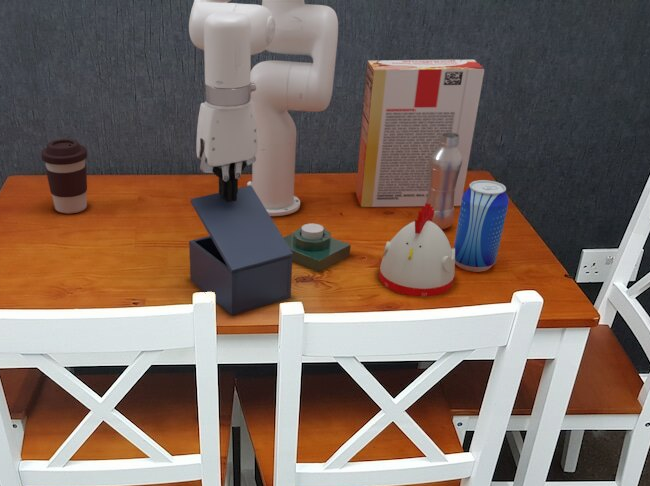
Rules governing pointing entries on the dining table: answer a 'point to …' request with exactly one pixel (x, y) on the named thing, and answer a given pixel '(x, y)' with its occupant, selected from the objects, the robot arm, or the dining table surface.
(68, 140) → the coffee cup
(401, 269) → the kitchen timer
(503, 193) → the beer can
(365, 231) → the dining table surface
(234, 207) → the lid
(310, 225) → the white button
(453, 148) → the plastic bottle
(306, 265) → the push button base
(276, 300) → the box
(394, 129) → the cereal box
